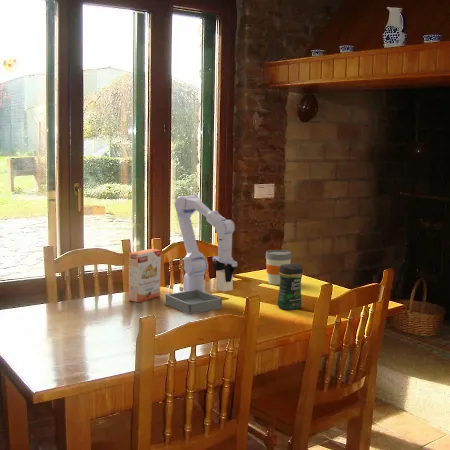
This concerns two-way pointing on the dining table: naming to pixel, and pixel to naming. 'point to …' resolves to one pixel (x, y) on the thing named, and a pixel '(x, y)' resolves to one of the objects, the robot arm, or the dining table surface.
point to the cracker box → (144, 275)
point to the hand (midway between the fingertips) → (224, 280)
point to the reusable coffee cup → (276, 264)
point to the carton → (223, 281)
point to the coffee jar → (290, 286)
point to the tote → (193, 301)
